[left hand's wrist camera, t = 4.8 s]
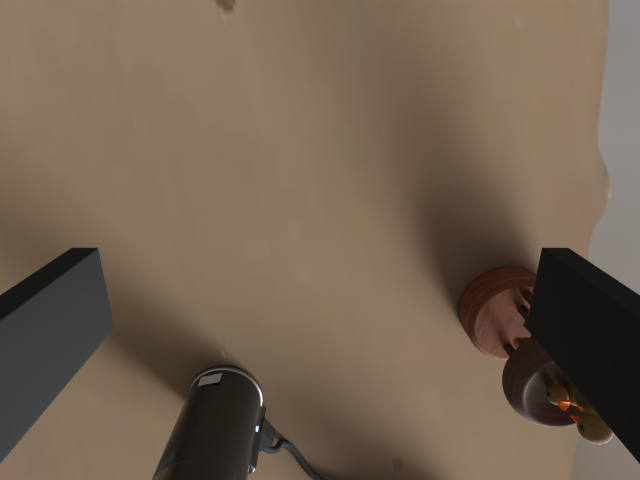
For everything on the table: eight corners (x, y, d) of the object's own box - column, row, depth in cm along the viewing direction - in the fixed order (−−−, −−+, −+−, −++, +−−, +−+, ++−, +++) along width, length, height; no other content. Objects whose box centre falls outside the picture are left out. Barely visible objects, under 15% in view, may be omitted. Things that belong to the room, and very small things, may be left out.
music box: (461, 253, 47) (579, 364, 28) (554, 251, 48) (727, 357, 29) (446, 366, 52) (537, 522, 34) (529, 362, 53) (663, 512, 35)
